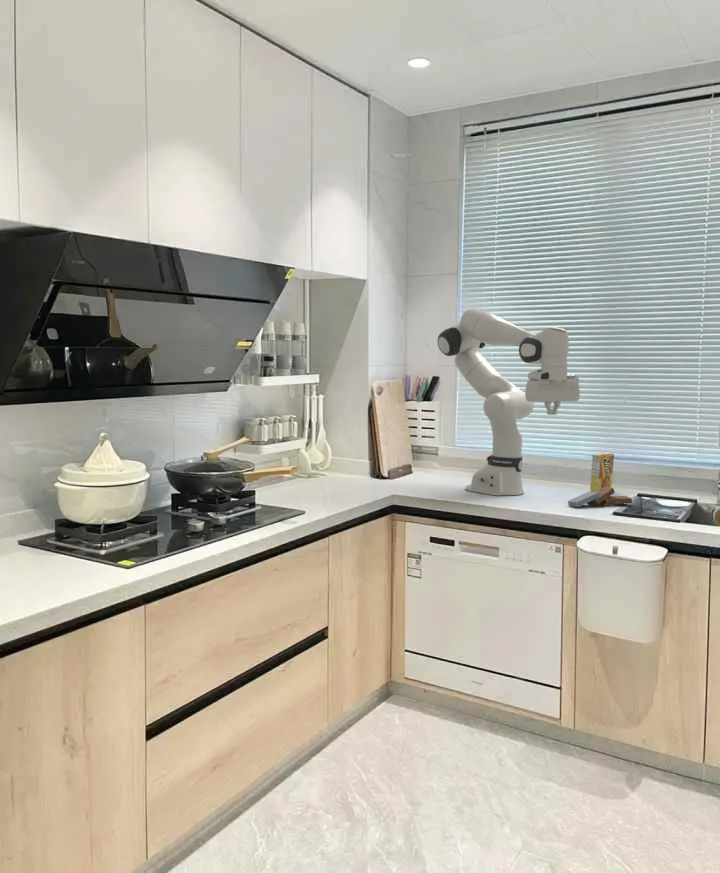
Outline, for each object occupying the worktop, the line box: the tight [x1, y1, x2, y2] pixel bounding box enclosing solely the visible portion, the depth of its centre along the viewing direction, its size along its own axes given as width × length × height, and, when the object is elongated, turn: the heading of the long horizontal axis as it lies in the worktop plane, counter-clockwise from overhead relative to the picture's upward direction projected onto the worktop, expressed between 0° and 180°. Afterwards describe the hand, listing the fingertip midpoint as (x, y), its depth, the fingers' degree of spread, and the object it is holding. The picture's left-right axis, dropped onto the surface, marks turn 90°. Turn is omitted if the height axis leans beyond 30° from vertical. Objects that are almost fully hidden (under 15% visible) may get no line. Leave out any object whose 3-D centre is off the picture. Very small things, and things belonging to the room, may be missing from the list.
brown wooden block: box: [598, 502, 620, 507], centre depth 287 cm, size 2×5×10 cm
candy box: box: [589, 452, 615, 492], centre depth 309 cm, size 9×4×15 cm, turn 129°
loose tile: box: [567, 491, 599, 508], centre depth 282 cm, size 2×5×10 cm
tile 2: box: [586, 487, 615, 506], centre depth 285 cm, size 2×5×10 cm
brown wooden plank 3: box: [603, 495, 633, 504], centre depth 286 cm, size 2×5×10 cm
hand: (551, 414), depth 272 cm, fingers closed
